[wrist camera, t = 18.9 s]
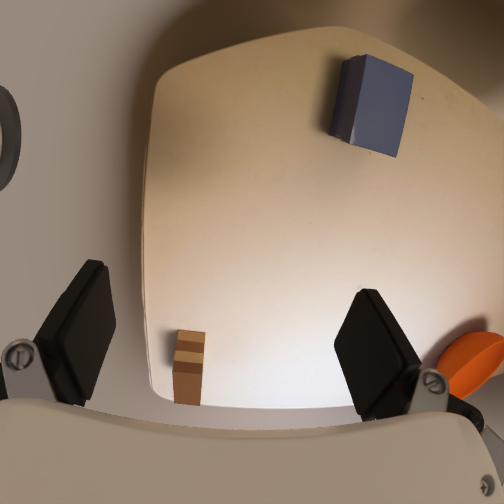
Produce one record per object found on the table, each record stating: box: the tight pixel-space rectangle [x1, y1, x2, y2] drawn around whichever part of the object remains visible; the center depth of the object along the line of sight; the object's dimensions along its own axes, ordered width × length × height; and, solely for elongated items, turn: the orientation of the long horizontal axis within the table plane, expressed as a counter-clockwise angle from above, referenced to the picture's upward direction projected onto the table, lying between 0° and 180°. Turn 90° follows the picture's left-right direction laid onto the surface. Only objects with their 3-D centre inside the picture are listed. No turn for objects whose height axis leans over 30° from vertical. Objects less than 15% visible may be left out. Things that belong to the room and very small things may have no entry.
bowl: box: [436, 332, 504, 400], centre depth 54 cm, size 25×25×10 cm
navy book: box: [341, 54, 414, 157], centre depth 25 cm, size 10×6×2 cm, turn 170°
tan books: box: [172, 330, 205, 406], centre depth 44 cm, size 10×4×9 cm, turn 170°
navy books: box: [329, 55, 359, 139], centre depth 28 cm, size 10×6×4 cm, turn 170°
